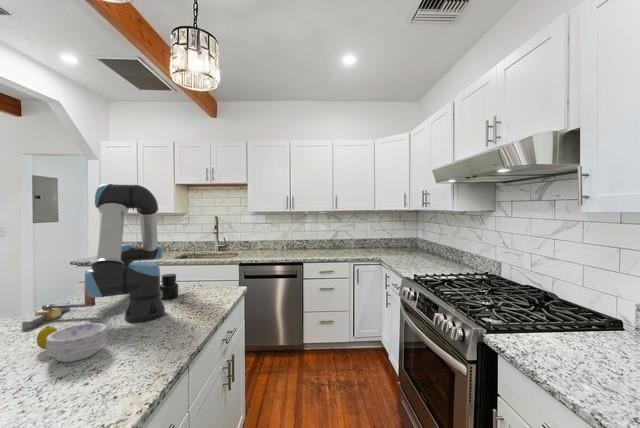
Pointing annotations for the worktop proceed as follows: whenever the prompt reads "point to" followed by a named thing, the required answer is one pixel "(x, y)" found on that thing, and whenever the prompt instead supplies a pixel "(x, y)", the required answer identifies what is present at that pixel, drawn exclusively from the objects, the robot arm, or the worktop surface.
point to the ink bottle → (168, 287)
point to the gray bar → (43, 317)
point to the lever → (88, 303)
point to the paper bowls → (76, 342)
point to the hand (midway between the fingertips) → (91, 288)
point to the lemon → (44, 336)
